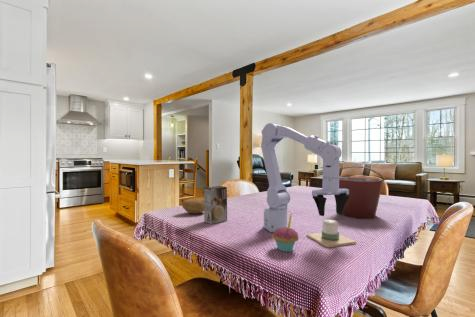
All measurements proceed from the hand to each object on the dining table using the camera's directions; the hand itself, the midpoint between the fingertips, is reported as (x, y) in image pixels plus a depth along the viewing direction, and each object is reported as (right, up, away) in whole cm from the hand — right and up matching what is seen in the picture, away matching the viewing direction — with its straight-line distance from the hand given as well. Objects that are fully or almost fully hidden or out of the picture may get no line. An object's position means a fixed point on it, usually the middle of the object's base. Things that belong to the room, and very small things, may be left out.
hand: (330, 214), depth 91 cm
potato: (-56, -9, +41) cm, 70 cm away
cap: (0, -7, 0) cm, 6 cm away
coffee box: (-44, -9, +25) cm, 52 cm away
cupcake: (-18, -10, -9) cm, 22 cm away
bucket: (+28, -9, +38) cm, 48 cm away
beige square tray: (0, -9, 0) cm, 9 cm away
